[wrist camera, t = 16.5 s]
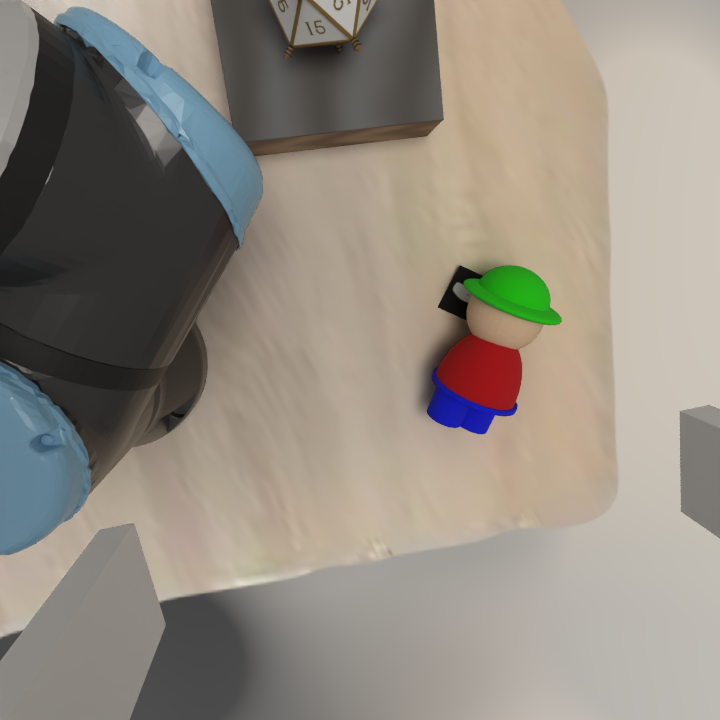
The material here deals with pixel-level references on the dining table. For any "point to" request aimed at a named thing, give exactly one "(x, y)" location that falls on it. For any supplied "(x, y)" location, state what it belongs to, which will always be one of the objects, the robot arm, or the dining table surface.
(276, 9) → the game die
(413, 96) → the dark gray square base
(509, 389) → the toy figure
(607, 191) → the dining table surface
